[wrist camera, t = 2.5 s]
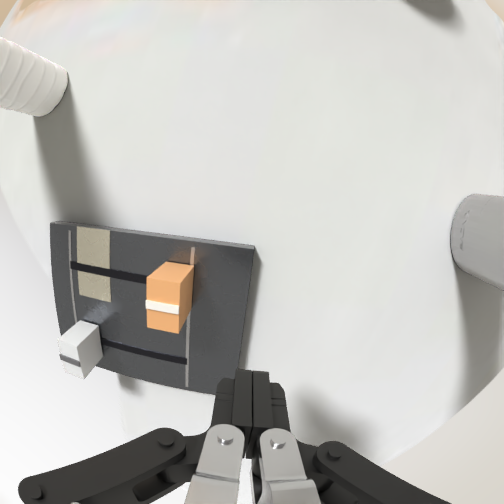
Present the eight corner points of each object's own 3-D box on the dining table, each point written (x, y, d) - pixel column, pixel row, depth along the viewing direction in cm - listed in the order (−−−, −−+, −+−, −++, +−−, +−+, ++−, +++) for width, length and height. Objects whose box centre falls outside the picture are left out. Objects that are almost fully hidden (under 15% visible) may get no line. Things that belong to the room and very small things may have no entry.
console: (254, 245, 24) (254, 249, 22) (234, 388, 27) (233, 397, 26) (58, 221, 23) (49, 223, 22) (71, 348, 27) (64, 355, 25)
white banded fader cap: (98, 325, 24) (75, 347, 19) (103, 356, 25) (83, 380, 20) (80, 320, 24) (56, 340, 19) (85, 350, 25) (64, 372, 20)
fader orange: (194, 265, 22) (179, 284, 18) (191, 309, 23) (177, 335, 19) (166, 261, 22) (145, 278, 18) (164, 304, 23) (146, 328, 19)
